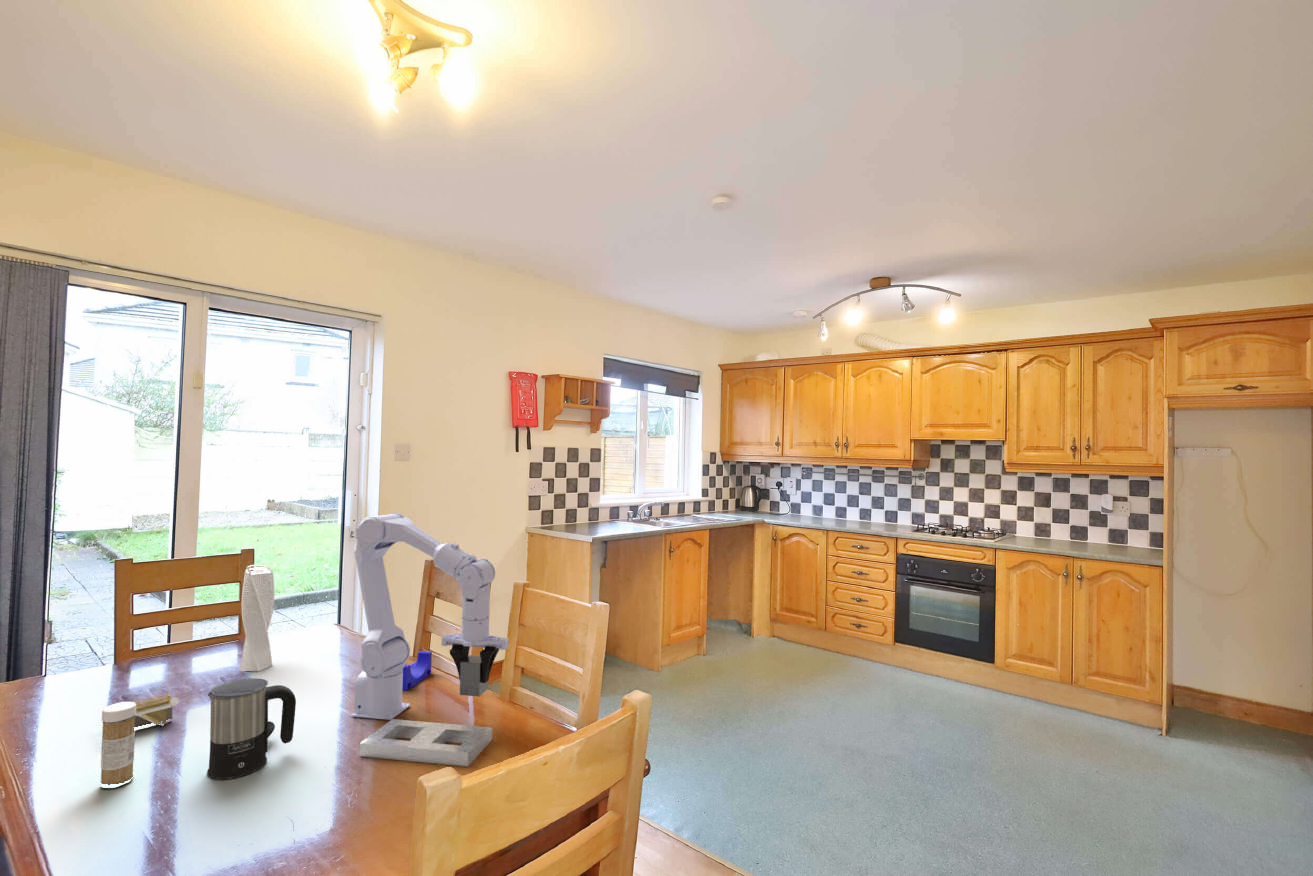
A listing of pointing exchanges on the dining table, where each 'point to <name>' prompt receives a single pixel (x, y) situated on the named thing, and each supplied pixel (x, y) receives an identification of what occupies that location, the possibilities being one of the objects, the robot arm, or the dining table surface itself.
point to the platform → (154, 710)
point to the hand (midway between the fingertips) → (474, 680)
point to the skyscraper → (257, 617)
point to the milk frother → (245, 725)
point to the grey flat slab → (427, 742)
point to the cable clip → (417, 670)
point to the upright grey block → (472, 677)
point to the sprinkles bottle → (118, 743)
